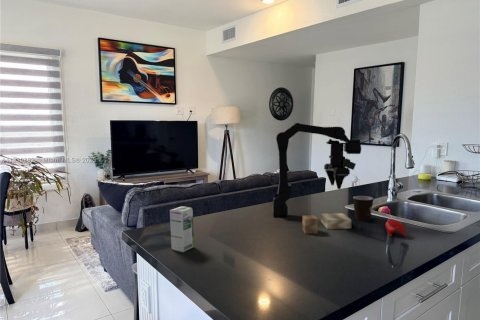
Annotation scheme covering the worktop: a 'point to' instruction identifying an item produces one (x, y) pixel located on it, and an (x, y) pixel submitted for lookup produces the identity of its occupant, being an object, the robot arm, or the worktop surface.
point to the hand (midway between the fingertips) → (335, 187)
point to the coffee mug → (363, 208)
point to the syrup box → (182, 228)
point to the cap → (394, 227)
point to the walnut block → (310, 224)
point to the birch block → (336, 221)
